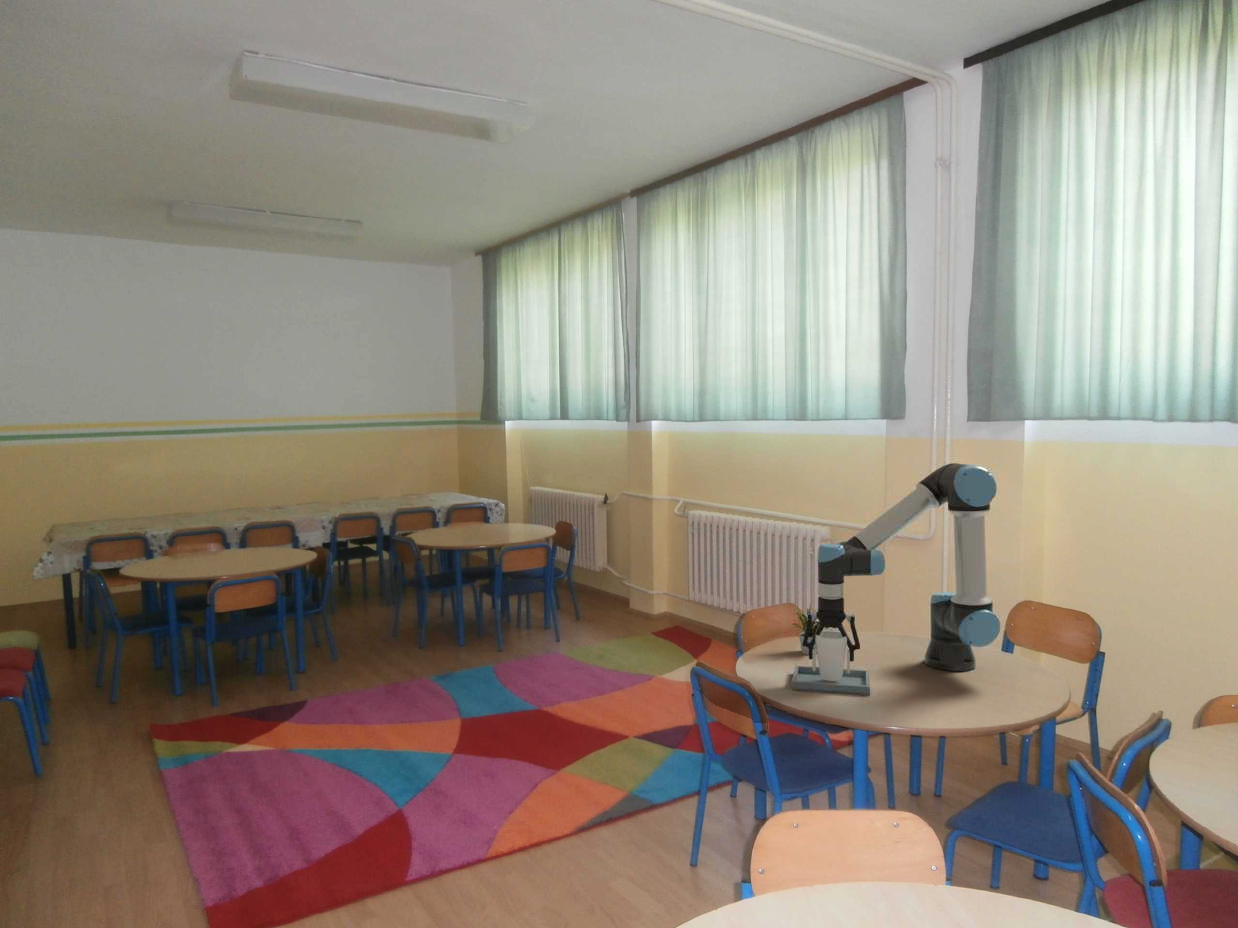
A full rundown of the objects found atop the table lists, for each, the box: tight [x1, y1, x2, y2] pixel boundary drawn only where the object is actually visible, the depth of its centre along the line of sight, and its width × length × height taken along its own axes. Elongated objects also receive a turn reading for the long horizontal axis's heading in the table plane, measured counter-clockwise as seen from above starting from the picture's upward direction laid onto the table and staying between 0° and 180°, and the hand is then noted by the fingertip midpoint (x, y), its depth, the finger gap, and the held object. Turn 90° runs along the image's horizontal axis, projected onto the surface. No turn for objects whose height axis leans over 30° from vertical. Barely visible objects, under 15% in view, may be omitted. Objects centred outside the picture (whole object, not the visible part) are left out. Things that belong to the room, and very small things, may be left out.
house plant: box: [789, 604, 829, 656], centre depth 281 cm, size 14×14×16 cm
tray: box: [791, 665, 871, 696], centre depth 249 cm, size 22×16×2 cm
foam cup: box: [815, 630, 847, 681], centre depth 249 cm, size 10×9×13 cm
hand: (831, 670), depth 249 cm, fingers closed on foam cup, 9 cm apart
